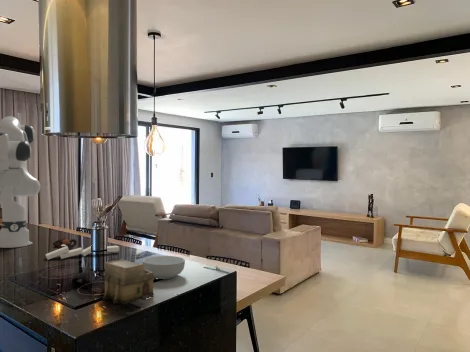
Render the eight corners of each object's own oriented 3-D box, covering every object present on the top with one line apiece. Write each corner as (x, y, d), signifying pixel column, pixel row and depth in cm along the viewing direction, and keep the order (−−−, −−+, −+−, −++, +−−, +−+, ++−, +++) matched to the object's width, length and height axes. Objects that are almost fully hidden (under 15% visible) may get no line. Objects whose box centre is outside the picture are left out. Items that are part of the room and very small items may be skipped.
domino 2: (60, 254, 172) (82, 249, 177) (59, 253, 176) (81, 247, 181) (61, 258, 172) (83, 253, 177) (60, 256, 176) (81, 251, 181)
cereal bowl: (193, 277, 143) (193, 260, 143) (157, 286, 132) (158, 266, 132) (168, 269, 155) (168, 253, 155) (134, 276, 143) (134, 259, 144)
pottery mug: (60, 255, 183) (53, 240, 184) (54, 260, 189) (48, 246, 190) (82, 246, 192) (75, 232, 193) (76, 251, 198) (69, 238, 199)
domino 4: (99, 248, 181) (119, 246, 187) (97, 247, 185) (116, 245, 191) (99, 252, 181) (119, 250, 187) (97, 251, 185) (116, 249, 191)
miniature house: (123, 307, 109) (124, 270, 109) (98, 297, 118) (99, 263, 118) (161, 295, 121) (162, 262, 121) (136, 287, 130) (137, 256, 130)
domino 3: (82, 252, 178) (101, 242, 182) (80, 251, 182) (99, 241, 187) (83, 256, 178) (102, 246, 183) (82, 254, 183) (101, 244, 187)
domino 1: (46, 256, 169) (68, 247, 174) (45, 254, 173) (67, 245, 178) (47, 260, 169) (69, 251, 174) (47, 257, 174) (68, 249, 178)
